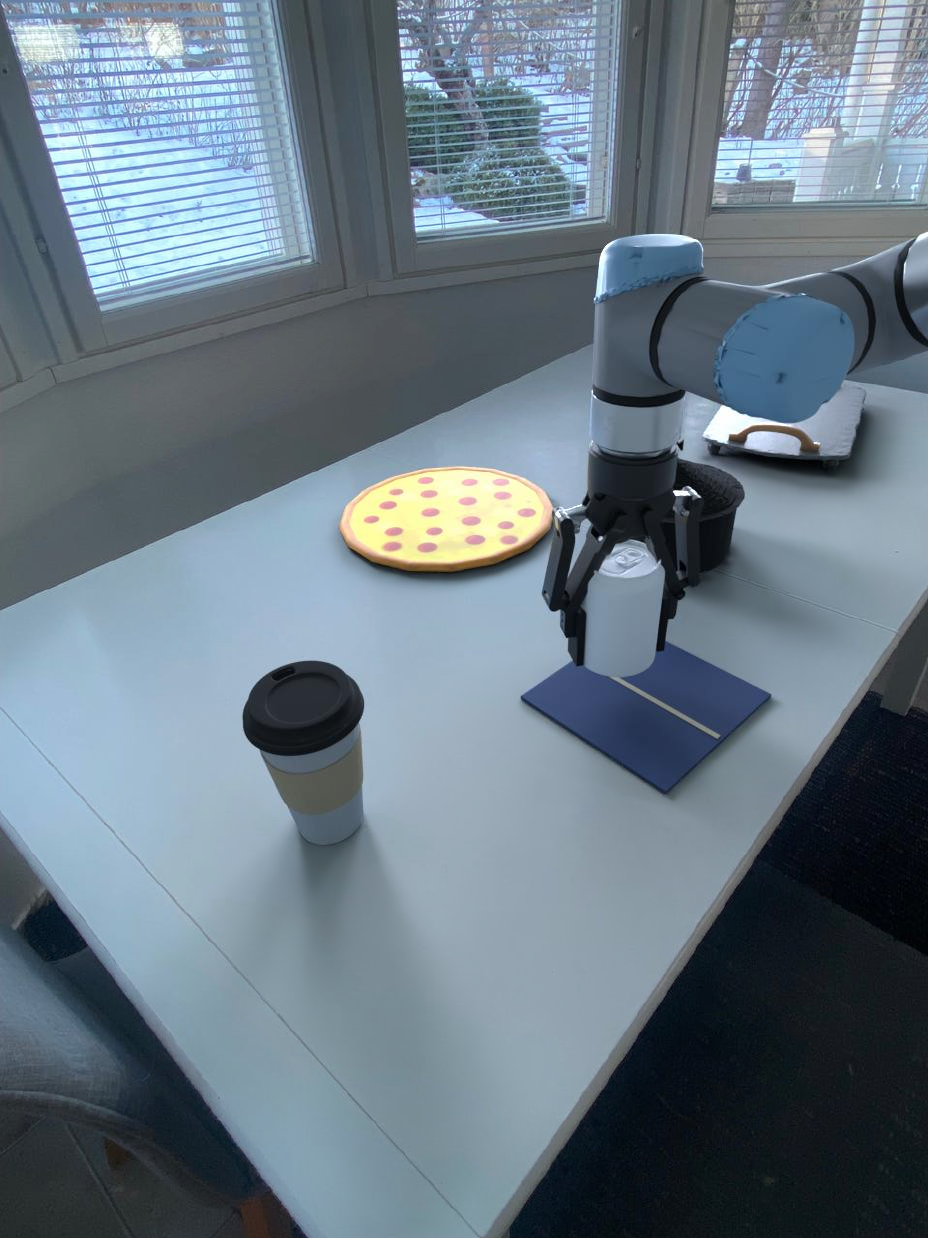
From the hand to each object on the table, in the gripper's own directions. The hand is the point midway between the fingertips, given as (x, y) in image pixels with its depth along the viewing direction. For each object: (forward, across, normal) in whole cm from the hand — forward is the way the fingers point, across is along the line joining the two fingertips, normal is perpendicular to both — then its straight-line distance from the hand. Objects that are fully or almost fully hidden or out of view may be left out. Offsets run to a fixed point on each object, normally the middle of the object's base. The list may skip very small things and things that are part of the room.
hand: (615, 650), depth 75 cm
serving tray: (+4, -54, -56) cm, 78 cm away
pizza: (+4, +10, -42) cm, 43 cm away
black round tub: (+4, -17, -25) cm, 30 cm away
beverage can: (+1, 0, 0) cm, 1 cm away
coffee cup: (+4, +31, +11) cm, 33 cm away
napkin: (+4, -2, +4) cm, 6 cm away
